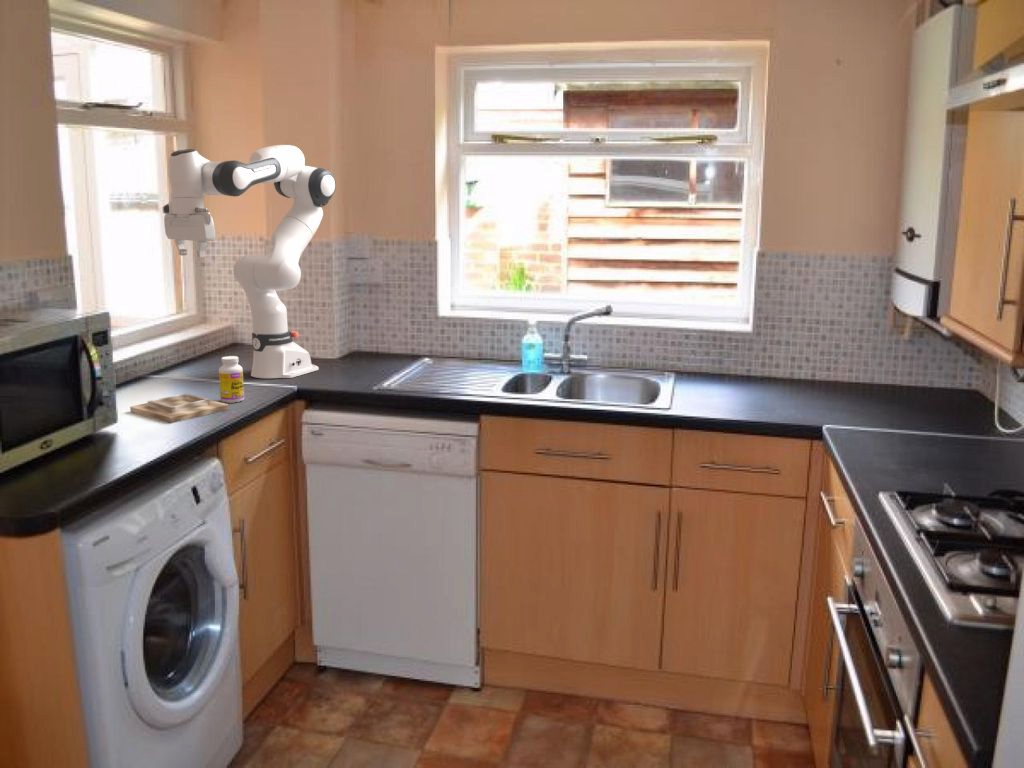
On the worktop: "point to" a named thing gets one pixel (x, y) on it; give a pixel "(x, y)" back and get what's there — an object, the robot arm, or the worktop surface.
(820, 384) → the worktop surface
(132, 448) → the worktop surface
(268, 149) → the robot arm
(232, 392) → the supplement bottle
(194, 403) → the pocket board
